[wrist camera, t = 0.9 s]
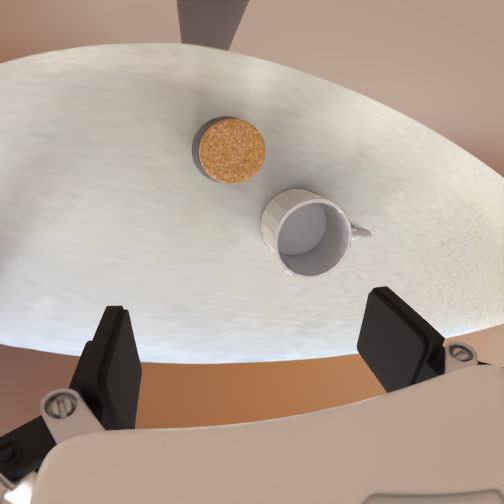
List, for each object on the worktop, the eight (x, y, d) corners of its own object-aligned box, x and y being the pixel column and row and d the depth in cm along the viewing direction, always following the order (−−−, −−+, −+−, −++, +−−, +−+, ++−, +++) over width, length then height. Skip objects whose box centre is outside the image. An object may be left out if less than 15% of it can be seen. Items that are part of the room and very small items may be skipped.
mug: (259, 258, 40) (272, 281, 34) (261, 188, 37) (275, 198, 31) (346, 253, 42) (371, 273, 36) (353, 190, 39) (381, 200, 33)
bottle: (245, 126, 34) (278, 117, 20) (238, 174, 36) (266, 195, 22) (196, 121, 33) (196, 106, 19) (190, 169, 35) (186, 187, 21)
